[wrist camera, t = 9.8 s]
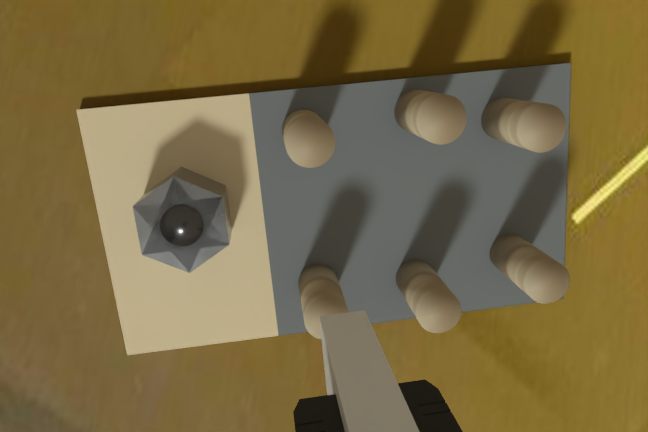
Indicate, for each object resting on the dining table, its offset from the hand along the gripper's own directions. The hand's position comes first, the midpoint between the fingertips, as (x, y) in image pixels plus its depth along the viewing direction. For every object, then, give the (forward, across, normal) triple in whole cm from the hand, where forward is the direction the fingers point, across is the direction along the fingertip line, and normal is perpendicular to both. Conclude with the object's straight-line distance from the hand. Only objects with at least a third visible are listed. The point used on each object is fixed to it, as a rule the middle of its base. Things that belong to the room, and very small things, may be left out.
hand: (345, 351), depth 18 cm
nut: (+18, -7, +1) cm, 19 cm away
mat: (+18, +3, 0) cm, 18 cm away
